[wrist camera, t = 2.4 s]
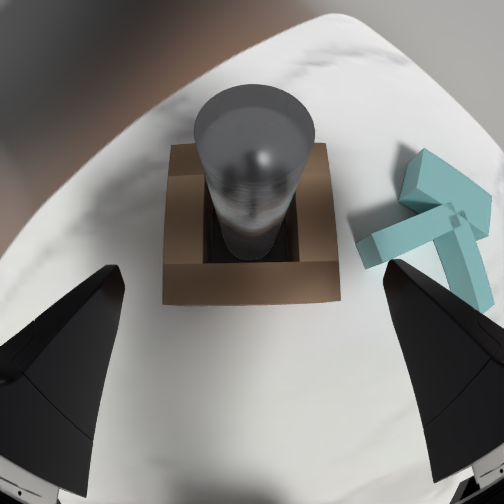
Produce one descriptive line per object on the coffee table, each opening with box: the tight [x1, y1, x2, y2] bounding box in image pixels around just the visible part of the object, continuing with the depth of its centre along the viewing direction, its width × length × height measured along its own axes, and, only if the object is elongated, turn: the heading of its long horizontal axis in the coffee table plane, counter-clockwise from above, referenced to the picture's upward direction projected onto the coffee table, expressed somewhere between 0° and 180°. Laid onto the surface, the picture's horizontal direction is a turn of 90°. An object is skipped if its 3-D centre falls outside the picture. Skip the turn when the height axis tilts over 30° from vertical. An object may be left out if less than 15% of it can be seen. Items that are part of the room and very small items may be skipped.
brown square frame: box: [163, 143, 341, 306], centre depth 19 cm, size 10×10×4 cm
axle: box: [194, 84, 315, 261], centre depth 14 cm, size 4×4×13 cm
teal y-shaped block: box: [356, 148, 494, 314], centre depth 20 cm, size 10×13×3 cm
